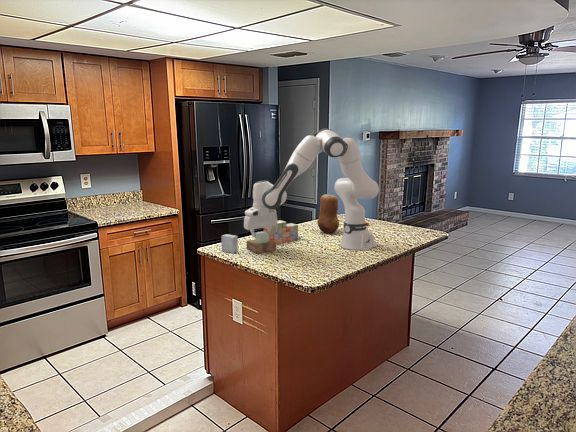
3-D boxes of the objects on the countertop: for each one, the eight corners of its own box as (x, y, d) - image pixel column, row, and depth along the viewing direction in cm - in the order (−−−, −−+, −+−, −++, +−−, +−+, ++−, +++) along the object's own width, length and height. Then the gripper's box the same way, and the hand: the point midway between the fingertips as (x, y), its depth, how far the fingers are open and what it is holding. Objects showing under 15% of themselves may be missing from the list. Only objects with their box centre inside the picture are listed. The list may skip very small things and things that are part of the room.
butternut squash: (339, 231, 277) (341, 193, 272) (337, 236, 264) (338, 196, 259) (319, 229, 280) (320, 192, 275) (315, 234, 267) (316, 195, 262)
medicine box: (238, 251, 227) (238, 235, 226) (233, 253, 224) (232, 237, 222) (226, 249, 231) (226, 233, 230) (221, 251, 228) (221, 235, 226)
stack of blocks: (291, 237, 259) (291, 218, 256) (298, 239, 254) (298, 219, 252) (263, 243, 246) (263, 222, 243) (269, 245, 241) (269, 224, 238)
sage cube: (262, 240, 233) (262, 231, 232) (267, 242, 230) (267, 233, 229) (255, 241, 230) (255, 232, 229) (260, 243, 226) (260, 234, 225)
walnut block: (266, 246, 239) (266, 238, 238) (275, 252, 229) (275, 243, 228) (246, 249, 233) (246, 240, 232) (255, 254, 223) (255, 245, 222)
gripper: (272, 207, 235) (272, 231, 238) (242, 211, 223) (242, 237, 225) (279, 209, 230) (279, 233, 233) (248, 213, 218) (248, 239, 221)
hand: (261, 235), depth 229 cm, fingers open, 8 cm apart
